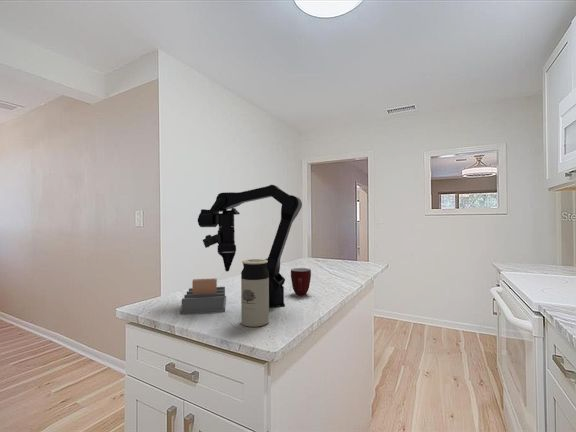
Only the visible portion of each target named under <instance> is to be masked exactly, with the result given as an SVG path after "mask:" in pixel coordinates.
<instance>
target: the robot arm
mask: <svg viewBox="0 0 576 432" xmlns="http://www.w3.org/2000/svg"><path fill="white" fill-rule="evenodd" d="M267 198H273V199H274V200H275V201H276V202H278V203H280V204H281V210H280V221H279V224H278V227H277V230H276V233H275V236H274V240H273V243H272V245H271V248H270V251H269V254H268V257H267V258H265V259H264V260H267V261H268V262H267V266H266V267H267V269H268V271H269V308H275V307H285V306H286V304H285V295H284V294H285V293H284V292H285V287H284V284H285V281H286V278H285V277H284V276H283V275H282V274H281V273H280V270H281V258H282V254H283V252H284V249H285V246H286V242H287V240H288V237H289V235H290V231H291V228H292V224H293V223H294V221H295V219H297V217H298V215H299V213H300V212H301V210H302V207H303V202H302V200H301V199H300V198H299V197H297V196H295V195H292V194H291V195H290V194H288V193H287V192H285V191H284V190H282V189H281V188H279V186H277V185H275V184H269V185H267V186H261V187H257V188H254V189H248V190H245V191H240V192H235V191H234V192H219V193H218V194H217V196H216V198H215V201H214V203H213V204H212V206H211V207H210V208H209V209H200V213H199V214H198V216H197V224H198V226H199V227H200V228H216V227H218V230H217V233H216V234H214V235H211V234H208V235H205V238H204V239H202V242H203V245H204V247H205V248H206V249H207V248H210V247H211V246H214V245H216V244H217V254H218V255H219V256H221V258H222V262H223V266H224V271H225V272H229V271H230V270H231V269H230V268H231V266H232V264H233V260H234V258H235V256H236V252H237V245H236V243H235V242H236V240H235V238H236V237H235V233H236V232H235V215H240V212H239V211H238V210H237V208H236V207H239V206H240V205H242V204H245V203H248V202H249V203H250V202H254V201H257V200H258V201H259V200H263V199H267Z"/></svg>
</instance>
